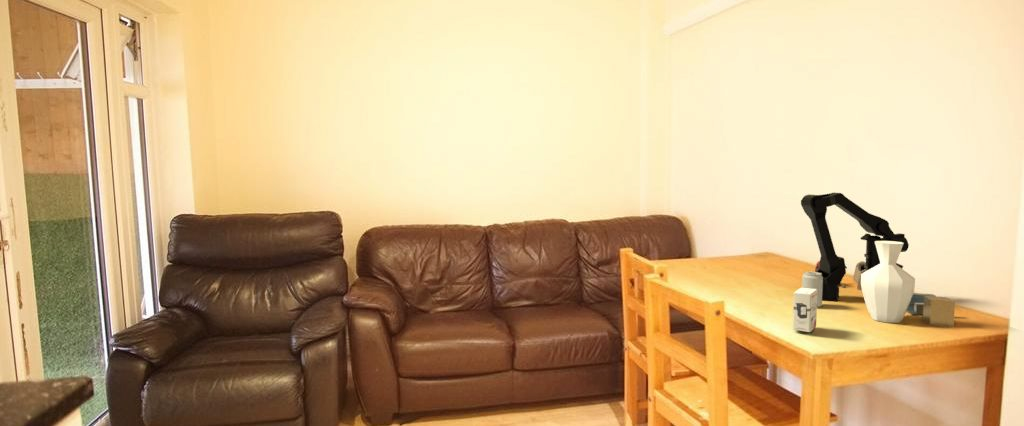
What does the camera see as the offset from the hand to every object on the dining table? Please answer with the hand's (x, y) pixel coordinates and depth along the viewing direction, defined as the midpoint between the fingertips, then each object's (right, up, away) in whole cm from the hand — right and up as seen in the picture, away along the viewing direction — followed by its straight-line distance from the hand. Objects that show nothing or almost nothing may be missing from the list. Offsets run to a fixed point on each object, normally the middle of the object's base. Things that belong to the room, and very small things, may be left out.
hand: (873, 294), depth 203 cm
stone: (+8, -1, +20) cm, 21 cm away
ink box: (-44, -5, -35) cm, 57 cm away
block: (-1, -5, -32) cm, 32 cm away
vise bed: (+6, -3, -16) cm, 18 cm away
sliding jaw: (+5, -2, -9) cm, 10 cm away
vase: (-14, -4, -27) cm, 30 cm away
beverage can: (-28, -3, -9) cm, 29 cm away
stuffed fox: (-5, -1, +19) cm, 20 cm away
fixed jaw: (+4, -4, -23) cm, 24 cm away
